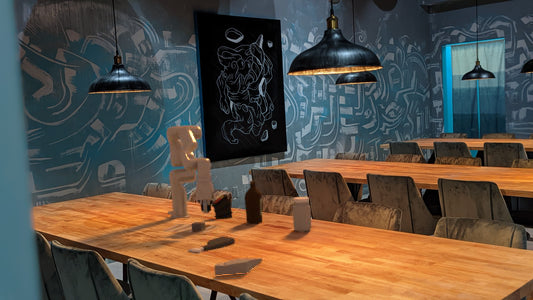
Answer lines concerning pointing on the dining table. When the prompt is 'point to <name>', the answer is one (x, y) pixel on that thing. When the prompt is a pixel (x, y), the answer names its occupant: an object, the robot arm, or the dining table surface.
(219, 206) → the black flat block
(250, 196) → the olive oil
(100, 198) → the dining table surface
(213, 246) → the brown brush
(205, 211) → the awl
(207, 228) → the panel
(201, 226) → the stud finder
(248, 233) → the dining table surface
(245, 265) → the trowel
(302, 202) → the jar
